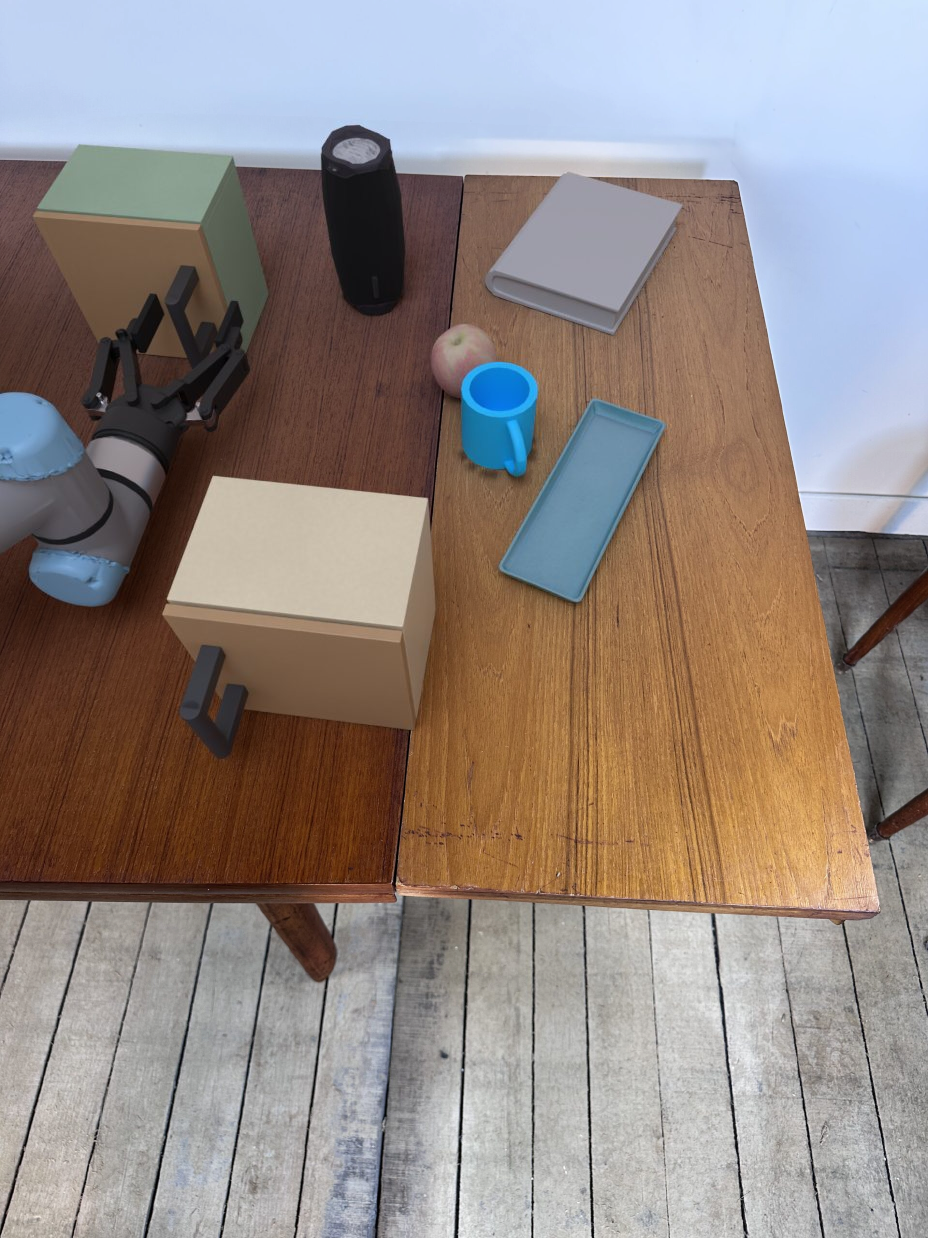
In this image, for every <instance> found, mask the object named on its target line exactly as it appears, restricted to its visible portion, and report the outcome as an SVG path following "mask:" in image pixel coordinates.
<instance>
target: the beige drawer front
mask: <svg viewBox="0 0 928 1238" xmlns="http://www.w3.org/2000/svg"><path fill="white" fill-rule="evenodd" d="M161 615H162V617H163V618H164V620H165V621H166V623H167V624H168V625H169V627H170V628H171V629H172V631H173V632H174V634H175V636H176V637H177V638H178V640H179V641H180V642H181V644H182V645H183V647H184V648H185V650H186V651H187V652H188V654H189V655H190V657H191V658H192V659H193V660H194V662H195V663H194V666H193V669H192V671H191V674H190V678H189V681H188V684H187V686H186V690H185V693H184V695H183V698H182V701H181V704H180V706H179V711H178V713H179V716H180V718H182V720H183V721H184V722H185V723H186V724H187V725H188V726H189V728H190V729H191V730H192V731H193V733H194V734H195V735H196V736H197V737H198V739H199V740H200V741H201V742H202V743H203V744H204V745H205V747H206V748H207V749H208V750H209V751H210V753H211V754H213V756H214V757H215V758H216V759H218V760H224V759H227V758H228V757H229V756H230V755H231V754H232V751H233V748H234V744H235V741H236V738H237V734H238V731H239V727H240V725H241V720H242V717H243V714H244V710H248V711H253V712H254V711H256V712H263V713H270V714H280V715H287V716H295V717H302V718H303V717H304V718H311V719H319V720H327V721H335V722H341V723H342V722H344V723H350V724H351V723H352V724H360V725H367V726H368V725H369V726H375V727H382V728H392V729H399V730H400V729H401V730H407V731H415V730H416V725H417V719H416V717H415V711H414V704H413V697H412V691H411V684H410V678H409V671H408V665H407V658H406V651H405V645H404V638H403V632H402V631H398V630H389V629H381V628H372V627H363V626H355V625H346V624H337V623H329V622H320V621H312V620H303V619H294V618H286V617H277V616H269V615H260V614H251V613H243V612H234V611H225V610H217V609H208V608H200V607H191V606H182V605H174V604H170V603H166V604H165V605H164V609H163V610H162V613H161ZM215 693H216V695H218V697H219V698H220V700H221V701H220V703H219V708H218V711H217V714H216V718H215V721H214V720H213V719H212V718H211V717H210V715H209V714H208V713H209V711H210V708H211V705H212V701H213V699H214V695H215Z"/></svg>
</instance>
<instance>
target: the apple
mask: <svg viewBox="0 0 928 1238" xmlns="http://www.w3.org/2000/svg"><path fill="white" fill-rule="evenodd" d="M492 362H499V359H498V352H497V350H496V348H495V345H494V342H493V341H492V339H491V338H490V337H489V335H488V334H487V332H485V331H484V330H482V329H481V328H480V327H478V326H476V325H473V324H468V323H460V324H456V325H454V326H452V327H450V328H448V329H446V331H445V332H442V334H440V336H439V337H438V338H437V339H436V341H435V342H434V344H433V346H432V350H431V355H430V367H431V371H432V374H433V376H434V380H435V381H436V383H437V385H438V386H439V387H440V388H441V390H443V391H444V392H445V393H446V394H448V395H449V396H451V397H454V398H456V399H461V388H462V383H463V380H464V379H465V377H466V376H467V374H468V373H469V372H470V371H472V370H473V369H475V368H476V367H478V366H481V365H483V364H486V363H492Z"/></svg>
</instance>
